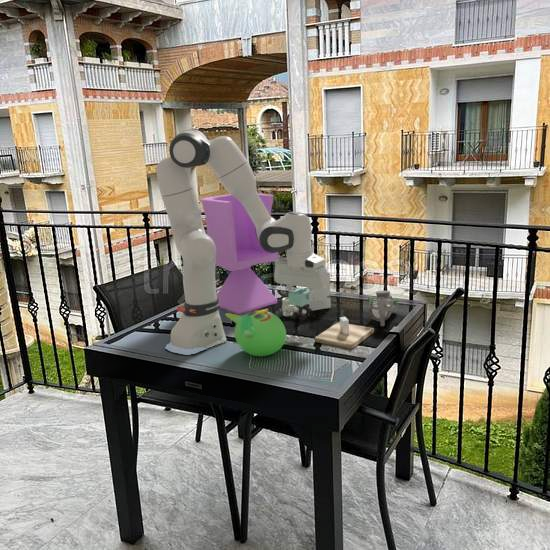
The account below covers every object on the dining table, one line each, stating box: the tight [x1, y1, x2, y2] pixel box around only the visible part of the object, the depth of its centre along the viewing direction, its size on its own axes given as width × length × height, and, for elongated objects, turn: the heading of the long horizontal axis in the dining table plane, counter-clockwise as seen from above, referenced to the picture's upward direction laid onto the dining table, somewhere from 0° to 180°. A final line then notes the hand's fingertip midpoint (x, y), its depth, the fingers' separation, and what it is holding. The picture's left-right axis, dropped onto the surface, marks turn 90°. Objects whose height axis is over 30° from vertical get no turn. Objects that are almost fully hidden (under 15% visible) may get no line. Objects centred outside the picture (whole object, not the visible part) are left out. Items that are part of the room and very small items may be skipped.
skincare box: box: [306, 270, 332, 311], centre depth 212 cm, size 8×6×15 cm
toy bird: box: [224, 308, 287, 357], centre depth 172 cm, size 18×17×15 cm
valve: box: [281, 297, 312, 321], centre depth 205 cm, size 7×7×12 cm
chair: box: [200, 192, 280, 316], centre depth 219 cm, size 22×22×45 cm
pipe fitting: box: [368, 290, 399, 322], centre depth 198 cm, size 12×8×10 cm, turn 144°
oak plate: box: [314, 321, 375, 350], centre depth 182 cm, size 16×14×2 cm
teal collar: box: [288, 287, 313, 307], centre depth 186 cm, size 7×5×4 cm
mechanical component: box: [367, 297, 398, 327], centre depth 189 cm, size 3×10×10 cm, turn 59°
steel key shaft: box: [339, 316, 350, 335], centre depth 181 cm, size 4×2×5 cm, turn 9°
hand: (301, 297), depth 186 cm, fingers closed on teal collar, 5 cm apart
